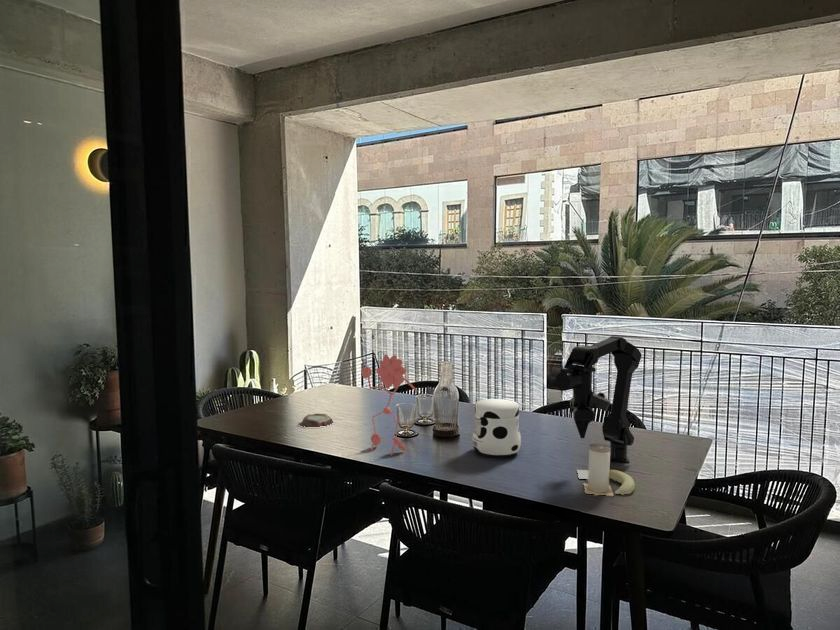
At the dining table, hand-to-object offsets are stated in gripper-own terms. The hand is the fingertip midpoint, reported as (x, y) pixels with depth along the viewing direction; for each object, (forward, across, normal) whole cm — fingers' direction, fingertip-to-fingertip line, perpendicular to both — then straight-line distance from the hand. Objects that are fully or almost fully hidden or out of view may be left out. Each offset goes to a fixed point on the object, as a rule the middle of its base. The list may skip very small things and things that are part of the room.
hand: (581, 434), depth 190 cm
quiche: (+14, +41, +106) cm, 115 cm away
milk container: (+13, +16, +28) cm, 35 cm away
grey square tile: (+13, -2, -3) cm, 13 cm away
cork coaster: (+13, -14, -4) cm, 20 cm away
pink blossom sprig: (+13, +14, +66) cm, 69 cm away
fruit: (+14, -9, -10) cm, 19 cm away
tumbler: (+13, -14, -4) cm, 19 cm away
